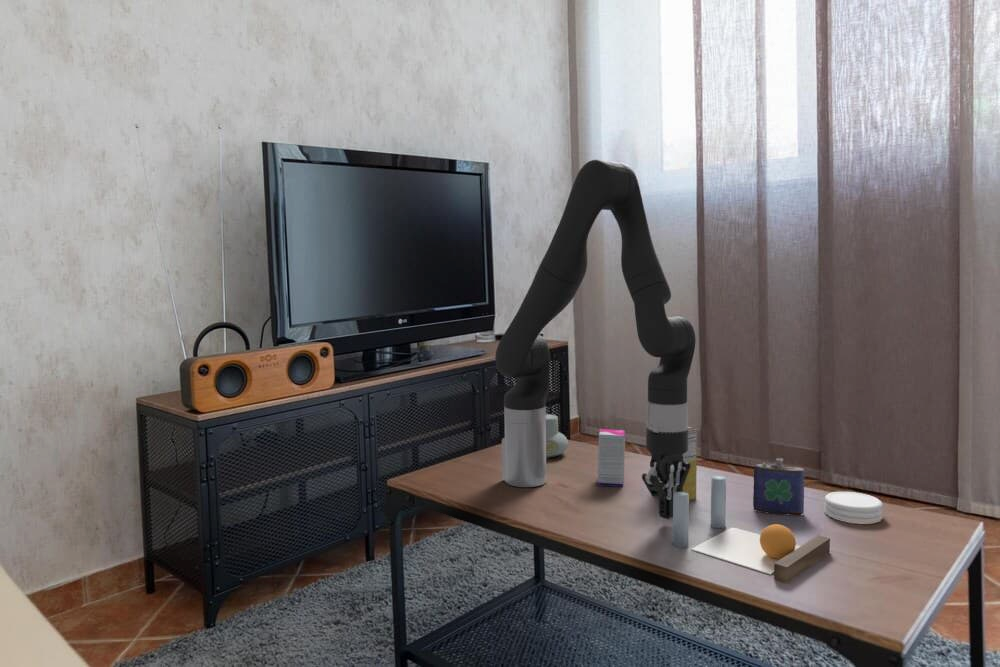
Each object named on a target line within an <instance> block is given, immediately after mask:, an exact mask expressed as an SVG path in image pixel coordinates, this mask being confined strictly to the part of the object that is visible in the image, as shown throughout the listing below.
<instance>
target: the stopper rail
mask: <svg viewBox="0 0 1000 667" xmlns="http://www.w3.org/2000/svg"><path fill="white" fill-rule="evenodd" d="M799 546H800V547H799V548H797V549H796V550H794V551H793V552H791V553H789V554H788V555H786V556H785V557H783V558H782V559H780V560H779V561H777V562H776V563H774V573H773V580H776V581H778V582H780V583H781V582H782V583H786V584H788V583H789V582H790V581H792V580H794V578H796V577H797V576H799V575H800V574H802V573H803V572H804V571H806V570H807V569H809V568H810V567H811V566H813V565H815V564H816V563H818V562H819V561H820V560H821V559H823V558H825V555H826V554H827V555H829V554H830V553H831V551H830V548H831V537H826V536H823V535H819V534H817V535H816V536H814V537H812V538H811V539H809V540H808V541H806V542H804V543H803V544H802V545H799ZM829 552H830V553H829ZM827 555H826V556H827ZM822 557H823V558H822ZM808 567H809V568H808Z"/></svg>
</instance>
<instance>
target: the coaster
mask: <svg viewBox="0 0 1000 667" xmlns="http://www.w3.org/2000/svg"><path fill="white" fill-rule="evenodd" d="M823 506H824V509H823V511H824V514H825V513H826V514H828V515H829V516H831V517H833V518H836V519H839V520H844V521H850V522H870V521H877V520H880V519H881V518H882V516H883V513H884V510H883V507H884V504H883V502H882V501H881V500H880V499H879V498H878V497H875V496H873V495H870V494H867V493H866V494H865V493H861V492H854V491H833V492H830V493H827V494H826V495H825V497H824V504H823ZM826 514H825V515H826ZM829 516H828V517H829ZM882 519H883V518H882Z"/></svg>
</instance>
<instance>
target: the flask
mask: <svg viewBox="0 0 1000 667" xmlns="http://www.w3.org/2000/svg"><path fill="white" fill-rule="evenodd" d="M775 460H776V461H775V462H774V463H773V464H772V463H769V462H768V463H766V462H762V463H758V464H754V467H753V497H752V498H753V499H752V503H753V504H752V505H753V506H752V507H753V511H754V510H756V511H755V512H757V511H761V512H760V513H763V512H768V513H767V514H770V513H775V514H774V515H781V514H789V515H788V516H793V515H797V516H801V514H803V515H804V512H805V505H804V504H805V469H804V468H802V467H798V466H796V467H794V466H793V467H792V466H785V465H784V464H783V462H784V460H785V459H784V458H782V457H779V458H776V459H775Z"/></svg>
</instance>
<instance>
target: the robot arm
mask: <svg viewBox="0 0 1000 667" xmlns="http://www.w3.org/2000/svg"><path fill="white" fill-rule="evenodd" d="M638 181H639V180H638V177H637V175H636V172H635V171H634V170H633V168H632V167H631V166H630V165H628V164H626V163H624V162H621V161H614V160H613V161H612V160H608V159H607V160H606V159H597V158H596V159H592V160H590V161H587V162H586V163H584V165H583V166H581V169H579V171H578V173H577V175H576V177H575V179H574V181H573V185H572V187H571V189H570V193H569V196H568V199H567V201H566V204H565V207H564V210H563V213H562V216H561V218H560V221H559V222H558V225H557V228H556V230H555V232H554V234H553V237H552V238H551V242H550V243H549V245H548V248H547V250H546V252H545V255H543V258H542V259H541V262H540V264H539V266H538V268H537V270H536V272H535V275H534V277H533V280H532V282H531V284H530V286H529V289H528V290H527V293H526V295H525V297H524V298H523V300H522V302H521V305H520V307H519V309H518V311H516V314H515V316H514V317H513V319H512V320H511V323H510V324H509V326H508V327H507V329H506V330H505V332H504V334H503V335H502V337H501V338H500V340H499V341H498V344H497V347H496V351H495V357H494V358H495V360H494V361H495V366H496V368H497V370H498V372H499V373H500V374H501V375H502V376H504V377H507V378H517V382H516V383H515V384H514V386H513V387H512V388H511V389H509V390H507V392H506V393H505V394H504V396H503V408H504V409H503V410H504V411H503V412H504V415H503V416H504V437H502V439H501V475H502V476H501V477H502V478H501V480H502V481H504V482H505V483H506V484H507V485H509V486H511V487H512V486H513V487H517V488H533V487H534V488H535V487H539V486H542V485H544V484H546V483H547V458H546V414H547V411H546V407H547V406H546V405H547V404H546V400H547V396H548V394H549V390H550V377H551V375H550V373H551V353H550V348H549V345H548V342H547V340H546V339H545V338H544V337H543V336H542V335H540V334H541V332H542V331H543V329H544V328H546V326H548V325H549V323H551V322H552V321H553V319H555V318H556V317H557V316H558V315H559V314H560V313H561V312H562V311H564V310H565V309H566V307H567V306H568V305H569V304H570V303H571V302H572V300H573V299H574V297H575V296H576V294H577V293H578V290H579V288H580V286H581V284H582V282H583V280H584V278H585V276H586V272H587V270H588V268H587V267H588V248H587V247H588V237H589V234H590V232H591V229H592V227H593V225H594V223H595V220H596V219H597V218H598V216H599V214H600V213H601V212H602V211H603V210H604V211H610V212H611V214H612V216H614V219H615V220H616V224H617V225H618V228H619V231H620V236H621V255H620V257H621V258H620V260H621V261H620V262H621V265H620V266H621V271H622V276H623V279H624V282H625V283H626V286H627V289H628V292H629V295H630V297H631V299H632V302H633V305H634V316H635V317H634V318H635V324H636V326H635V327H636V332H637V337H638V341H639V343H640V345H641V347H642V348H643V350H644V351H645V352H646V353H647V354H648V355H650V357H651V356H652V357H654V358H659V364H658V366H657V367H656V368H654V369H653V370H651V371H650V372H649V373H648V377H647V407H646V417H645V418H646V420H645V422H646V424H645V425H646V426H645V430H646V431H645V433H646V434H645V435H646V436H645V437H646V438H645V439H646V440H645V445H646V446H645V447H646V450H647V451H648V452H649V453H650V457H651V459H650V462H649V467H650V468H649V470H648V472H647V473H646V472H645V473H644V472H643V473H642V475H641V480H642V481H643V483H644V484H645V486H646V488H647V490H648V491H649V494H650V495H651V497H655V498H658V513H659V517H660V518H662V519H666V520H669V519H673V493H675V492H681V491H682V488H683V485H684V483H685V480H686V477H687V475H688V472H689V470H690V467H691V465H690V463H686V462H684V461H683V454H684V453H686V452H687V451H688V425H689V410H688V409H689V408H688V378H689V373H690V370H691V366H692V362H693V358H694V354H695V350H696V341H697V340H696V333H695V329H694V327H693V325H692V323H691V322H690V321H689V320H688V319H687V318H685V317H683V316H676V315H675V316H668V315H667V312H666V309H665V305H667V303H669V302H670V300H671V298H672V292H671V288H670V286H669V283H668V281H667V278H666V276H665V274H664V271H663V268H662V266H661V264H660V261H659V257H658V254H657V253H656V249H655V247H654V244H653V240H652V237H651V232H650V229H649V224H648V220H647V214H646V211H645V207H644V206H645V205H644V202H643V196H642V192H641V188H640V185H639V184H640V183H639V182H638ZM667 316H668V317H667Z"/></svg>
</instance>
